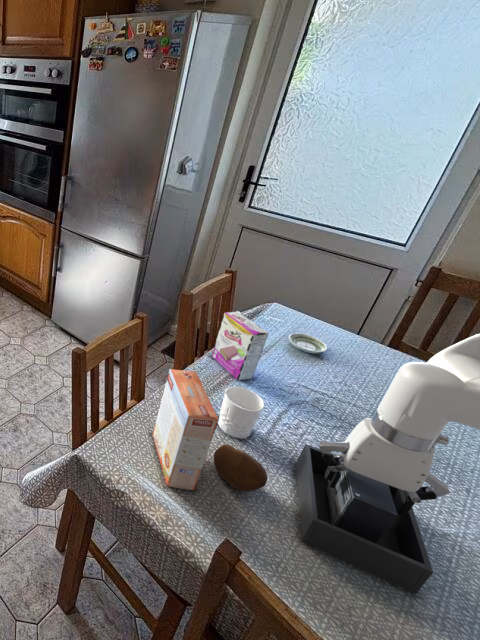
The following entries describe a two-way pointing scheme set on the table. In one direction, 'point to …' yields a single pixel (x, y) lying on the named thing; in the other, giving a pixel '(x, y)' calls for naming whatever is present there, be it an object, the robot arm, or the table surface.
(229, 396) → the white cup
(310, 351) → the saucer
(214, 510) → the table surface
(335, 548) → the basket
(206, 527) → the table surface
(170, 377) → the cracker box
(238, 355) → the candy bar box
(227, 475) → the potato
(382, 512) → the small box
